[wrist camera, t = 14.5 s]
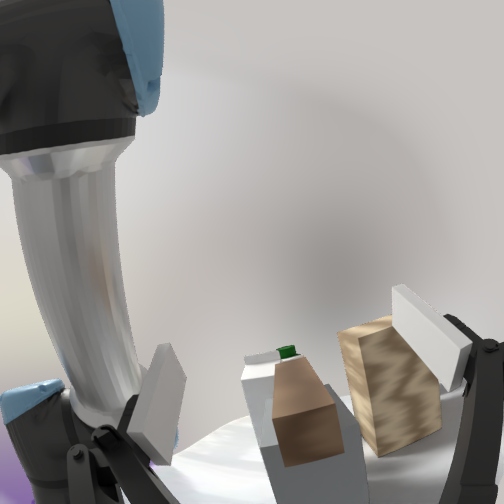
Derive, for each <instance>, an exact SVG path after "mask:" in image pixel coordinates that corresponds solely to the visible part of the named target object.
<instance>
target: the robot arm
mask: <svg viewBox="0 0 504 504" xmlns="http://www.w3.org/2000/svg"><path fill="white" fill-rule="evenodd" d="M163 53H164V6H163V0H0V167H1V168H2V169H3V170H4V171H5V172H6V173H8V175H9V176H10V178H11V179H12V188H13V196H14V205H15V212H16V218H17V225H18V230H19V235H20V240H21V245H22V250H23V254H24V258H25V262H26V266H27V270H28V274H29V278H30V281H31V284H32V288H33V291H34V294H35V297H36V300H37V304H38V307H39V309H40V312H41V315H42V318H43V320H44V323H45V326H46V328H47V331H48V334H49V336H50V338H51V341H52V343H53V346H54V348H55V350H56V353H57V355H58V357H59V359H60V361H61V363H62V366H63V368H64V370H65V372H66V374H67V376H68V378H69V380H70V382H71V386H70V388H64V387H65V385H64V383H63V382H62V380H60V379H53V380H47V381H43V382H38V383H34V384H30V385H26V386H22V387H18V388H14V389H11V390H8V391H5V392H3V393H2V395H1V396H0V408H1V412H2V416H3V420H4V425H5V426H6V428H7V431H8V434H9V437H10V439H11V442H12V444H13V447H14V449H15V451H16V454H17V456H18V458H19V460H20V462H21V465H22V467H23V469H24V471H25V473H26V475H27V477H28V479H29V481H30V483H31V486H32V491H33V495H34V500H35V503H36V504H125V503H124V500H123V496H122V492H121V489H122V490H123V492H124V494H125V495H126V497H127V498H128V500H129V502H130V503H131V504H180V503H179V502H178V500H177V499H176V498H175V497H174V496H173V495H172V493H171V492H170V491H169V490H168V489H167V487H166V486H165V485H164V484H163V482H162V481H161V480H160V479H159V477H158V476H157V475H156V473H155V472H154V471H153V469H152V468H151V467H150V466H149V463H150V459H151V461H152V462H153V463H154V464H155V465H169V466H170V465H171V461H172V454H173V450H174V449H175V448H176V447H177V445H178V440H179V436H178V427H177V426H178V420H179V414H180V409H181V404H182V399H183V394H184V388H185V383H186V378H187V377H186V375H185V373H184V371H183V369H182V367H181V365H180V363H179V361H178V359H177V357H176V355H175V353H174V351H173V348H172V346H171V344H170V343H167V344H161V345H158V347H157V349H156V352H155V354H154V357H153V360H152V362H151V365H150V368H149V370H147V369H146V368H145V367H143V366H142V365H140V364H139V363H138V359H137V355H136V351H135V346H134V342H133V337H132V332H131V327H130V322H129V316H128V311H127V305H126V299H125V292H124V286H123V279H122V271H121V263H120V253H119V243H118V232H117V219H116V200H115V162H116V160H117V158H118V156H119V155H120V154H121V153H122V152H123V151H124V150H125V149H126V148H127V147H128V146H129V145H130V144H131V142H132V141H133V140H134V139H135V126H136V116H142V117H144V116H145V115H148V114H151V113H153V112H154V111H155V109H156V107H157V104H158V100H159V95H160V76H161V75H162V67H163ZM392 326H393V327H394V328H395V329H396V331H397V332H398V333H399V334H400V335H401V336H402V337H403V338H404V340H405V341H406V342H407V343H408V344H409V345H410V347H411V348H412V349H413V350H414V351H415V352H416V354H417V355H418V356H419V357H420V358H421V359H422V361H423V362H424V363H425V364H426V365H427V367H428V368H429V369H430V370H431V371H432V373H433V374H434V375H435V376H436V377H437V379H438V380H439V381H440V382H441V384H442V385H443V386H444V387H445V389H446V390H447V391H448V392H451V391H453V390H454V389H456V388H458V387H459V386H461V383H462V380H463V377H464V378H465V379H466V381H467V384H466V387H465V390H464V393H463V395H462V396H463V397H464V396H465V397H464V405H463V412H462V418H461V424H460V429H459V434H458V439H457V444H456V448H455V452H454V456H453V460H452V464H451V467H450V471H449V474H448V478H447V481H446V484H445V487H444V490H443V493H442V496H441V499H440V501H439V504H495V502H496V498H497V493H498V486H497V485H496V484H495V477H496V472H497V466H498V460H499V453H500V446H501V436H502V424H503V400H504V342H502V343H498V342H497V341H495V340H494V339H484V340H483V339H482V338H480V337H479V336H478V335H477V334H475V333H474V332H473V331H472V330H471V329H470V328H469V327H466V325H465V324H464V323H462V322H461V321H460V320H459V319H458V318H457V317H455V316H452V315H450V314H446V315H444V316H442V315H441V314H440V313H438V312H437V311H436V310H435V309H434V308H433V307H431V306H430V305H429V304H428V303H426V302H425V301H424V300H423V299H422V298H420V297H419V296H418V295H417V294H415V293H414V292H413V291H411V290H410V289H409V288H408V287H407V286H405V285H404V284H403V283H402V284H400V285H396V286H393V287H392ZM120 487H121V489H120Z"/></svg>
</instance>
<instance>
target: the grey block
mask: <svg viewBox="0 0 504 504" xmlns="http://www.w3.org/2000/svg"><path fill="white" fill-rule="evenodd" d="M324 386H325V388H326V389H327V391H328V392H329V394H330V396H331V397H332V399H333V400H334V402H335V404H336V409H337V414H338V419H339V424H340V429H341V434H342V440H343V445H344V451H345V453H343V454H339V455H336V456H332V457H329V458H325V459H321V460H318V461H314V462H310V463H305V464H301V465H296V466H291V467H286V468H285V466H284V463H283V459H282V455H281V452H280V448H279V444H278V441H277V437H276V433H275V429H274V425H273V422H272V408H273V398H270V399H266V404H265V412H264V420H263V428H262V435H261V443H260V450H261V454H262V457H263V460H264V464H265V467H266V470H267V474H268V477H269V480H270V483H271V486H272V490H273V493H274V496H275V499H276V502H277V504H370V503H369V493H368V483H367V475H366V467H365V460H364V452H363V446H362V439H361V433H360V427H359V422H358V421H357V420H356V418H355V417H354V416H353V415H352V413H351V412H350V411H349V409H348V408H347V407H346V406H345V404H344V403H343V402H342V401H341V399H340V398H339V397H338V395H337V394H336V393H335V392H334V390H333V389H332V388H331V386H330V385H329V384H326V385H324Z"/></svg>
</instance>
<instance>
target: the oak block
mask: <svg viewBox="0 0 504 504" xmlns="http://www.w3.org/2000/svg"><path fill="white" fill-rule="evenodd" d="M337 334H338V338H339V342H340V347H341V352H342V356H343V361H344V365H345V370H346V375H347V380H348V384H349V390H350V395H351V400H352V405H353V411H354V416H355V418H356V420H357V421H358V422H359V427H360V433H361V435H362V436H363V437H364V439H365V440H366V442H367V443H368V444H369V446H370V447H371V448H372V450H373V451H374V452H375V454H376V455H377V456H378V457H381V456H383V455H386V454H388V453H391V452H393V451H396V450H398V449H400V448H402V447H405V446H407V445H409V444H411V443H413V442H415V441H417V440H419V439H421V438H424V437H425V436H427V435H429V434H431V433H433V432H435V431H437V430H439V429H441V428H442V422H441V404H440V392H439V382H438V379H437V377H436V376H435V375H434V374H433V373H432V371H431V370H430V369H429V368H428V367H427V365H426V364H425V363H424V362H423V361H422V359H421V358H420V357H419V356H418V355H417V354H416V352H415V351H414V350H413V349H412V348H411V347H410V345H409V344H408V343H407V342H406V341H405V340H404V338H403V337H402V336H401V335H400V334H399V333H398V332H397V331H396V329H395V328H394V327H393V326H392V314H391V315H388V316H386V317H383V318H380V319H377V320H374V321H371V322H368V323H365V324H362V325H359V326H356V327H353V328H350V329H346V330H344V331H340V332H337Z"/></svg>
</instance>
